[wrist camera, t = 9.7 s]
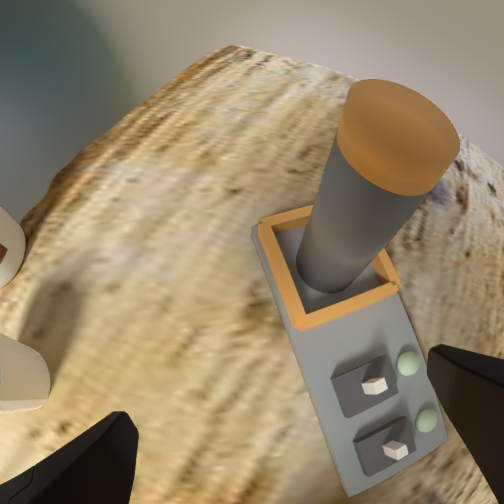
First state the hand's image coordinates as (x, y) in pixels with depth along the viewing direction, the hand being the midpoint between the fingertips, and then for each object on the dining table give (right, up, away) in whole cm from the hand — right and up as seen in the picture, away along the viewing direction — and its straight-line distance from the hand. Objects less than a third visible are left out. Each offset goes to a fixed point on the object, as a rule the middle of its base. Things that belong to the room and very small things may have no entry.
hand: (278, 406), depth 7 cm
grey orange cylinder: (+5, +3, +15) cm, 16 cm away
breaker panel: (+7, -3, +13) cm, 15 cm away
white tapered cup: (-20, -7, +11) cm, 24 cm away
